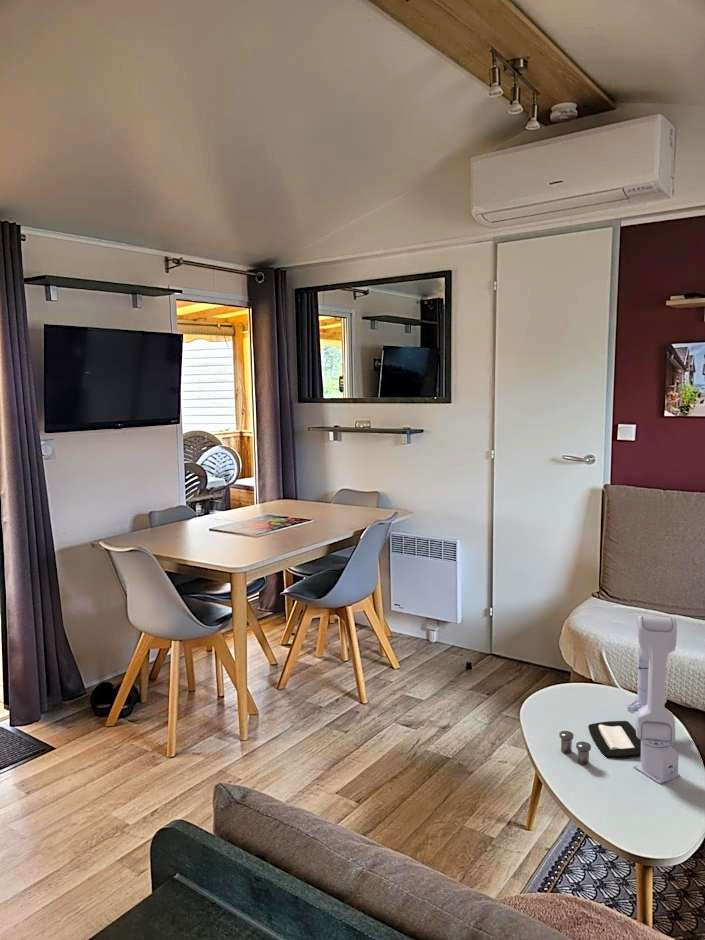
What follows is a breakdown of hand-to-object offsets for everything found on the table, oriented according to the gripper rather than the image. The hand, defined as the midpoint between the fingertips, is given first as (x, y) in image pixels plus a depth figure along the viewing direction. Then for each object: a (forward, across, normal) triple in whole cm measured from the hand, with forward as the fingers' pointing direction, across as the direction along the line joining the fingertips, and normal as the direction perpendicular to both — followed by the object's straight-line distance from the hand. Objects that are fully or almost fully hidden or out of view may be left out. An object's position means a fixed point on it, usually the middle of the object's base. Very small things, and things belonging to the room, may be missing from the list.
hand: (646, 728), depth 220 cm
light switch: (+2, +12, 0) cm, 12 cm away
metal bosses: (+1, +29, 0) cm, 29 cm away
